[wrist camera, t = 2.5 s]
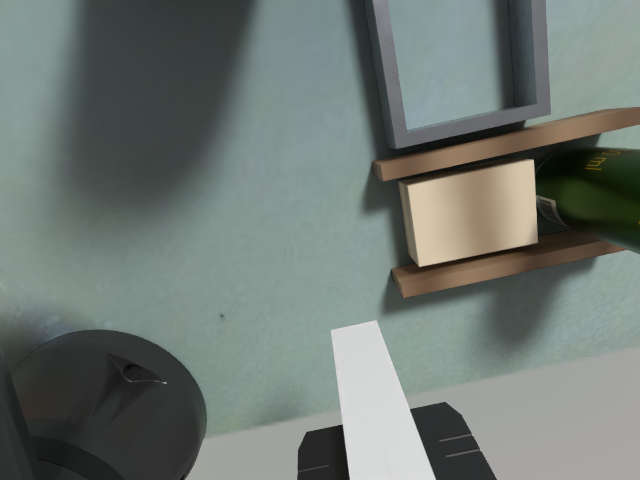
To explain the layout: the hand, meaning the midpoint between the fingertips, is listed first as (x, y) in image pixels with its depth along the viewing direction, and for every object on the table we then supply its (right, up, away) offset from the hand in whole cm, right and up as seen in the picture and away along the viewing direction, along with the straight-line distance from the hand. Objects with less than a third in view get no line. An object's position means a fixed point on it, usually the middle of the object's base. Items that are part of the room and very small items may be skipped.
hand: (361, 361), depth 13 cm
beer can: (+16, +8, +15) cm, 23 cm away
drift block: (+9, +6, +15) cm, 19 cm away
